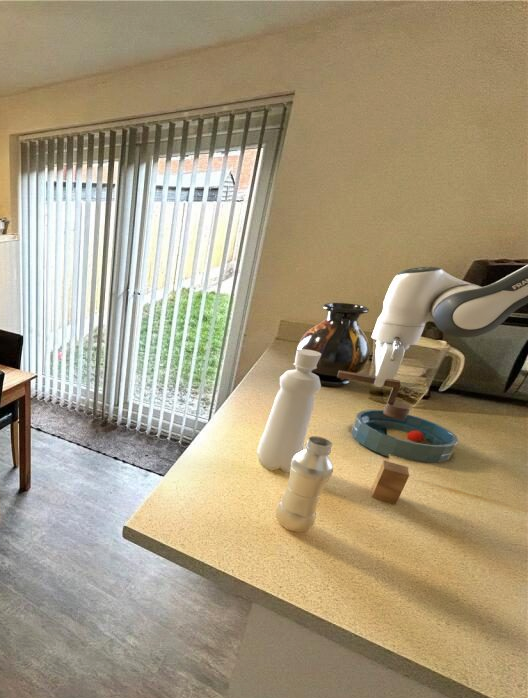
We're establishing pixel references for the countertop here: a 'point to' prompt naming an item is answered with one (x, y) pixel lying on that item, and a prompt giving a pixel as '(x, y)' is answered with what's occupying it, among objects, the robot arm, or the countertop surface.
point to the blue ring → (374, 436)
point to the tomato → (415, 436)
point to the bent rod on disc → (392, 406)
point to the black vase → (338, 343)
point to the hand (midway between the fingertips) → (377, 383)
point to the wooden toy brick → (390, 482)
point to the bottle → (290, 413)
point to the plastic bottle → (305, 485)
